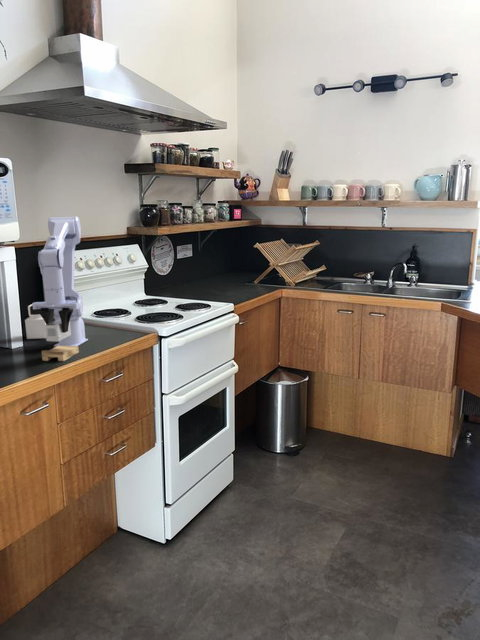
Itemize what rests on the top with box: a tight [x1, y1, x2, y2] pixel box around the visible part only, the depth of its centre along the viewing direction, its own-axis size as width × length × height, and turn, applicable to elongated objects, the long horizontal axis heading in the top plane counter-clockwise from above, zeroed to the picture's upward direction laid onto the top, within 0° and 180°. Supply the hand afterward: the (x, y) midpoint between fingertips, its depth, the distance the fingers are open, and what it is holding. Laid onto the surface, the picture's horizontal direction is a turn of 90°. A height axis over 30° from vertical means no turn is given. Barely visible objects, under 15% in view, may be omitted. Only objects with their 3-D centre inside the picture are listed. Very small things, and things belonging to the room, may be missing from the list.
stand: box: [41, 346, 80, 362], centre depth 165 cm, size 10×7×3 cm
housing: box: [45, 320, 71, 342], centre depth 163 cm, size 8×4×5 cm, turn 171°
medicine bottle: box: [24, 304, 46, 340], centre depth 190 cm, size 7×7×12 cm
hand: (58, 331), depth 163 cm, fingers closed on housing, 4 cm apart
